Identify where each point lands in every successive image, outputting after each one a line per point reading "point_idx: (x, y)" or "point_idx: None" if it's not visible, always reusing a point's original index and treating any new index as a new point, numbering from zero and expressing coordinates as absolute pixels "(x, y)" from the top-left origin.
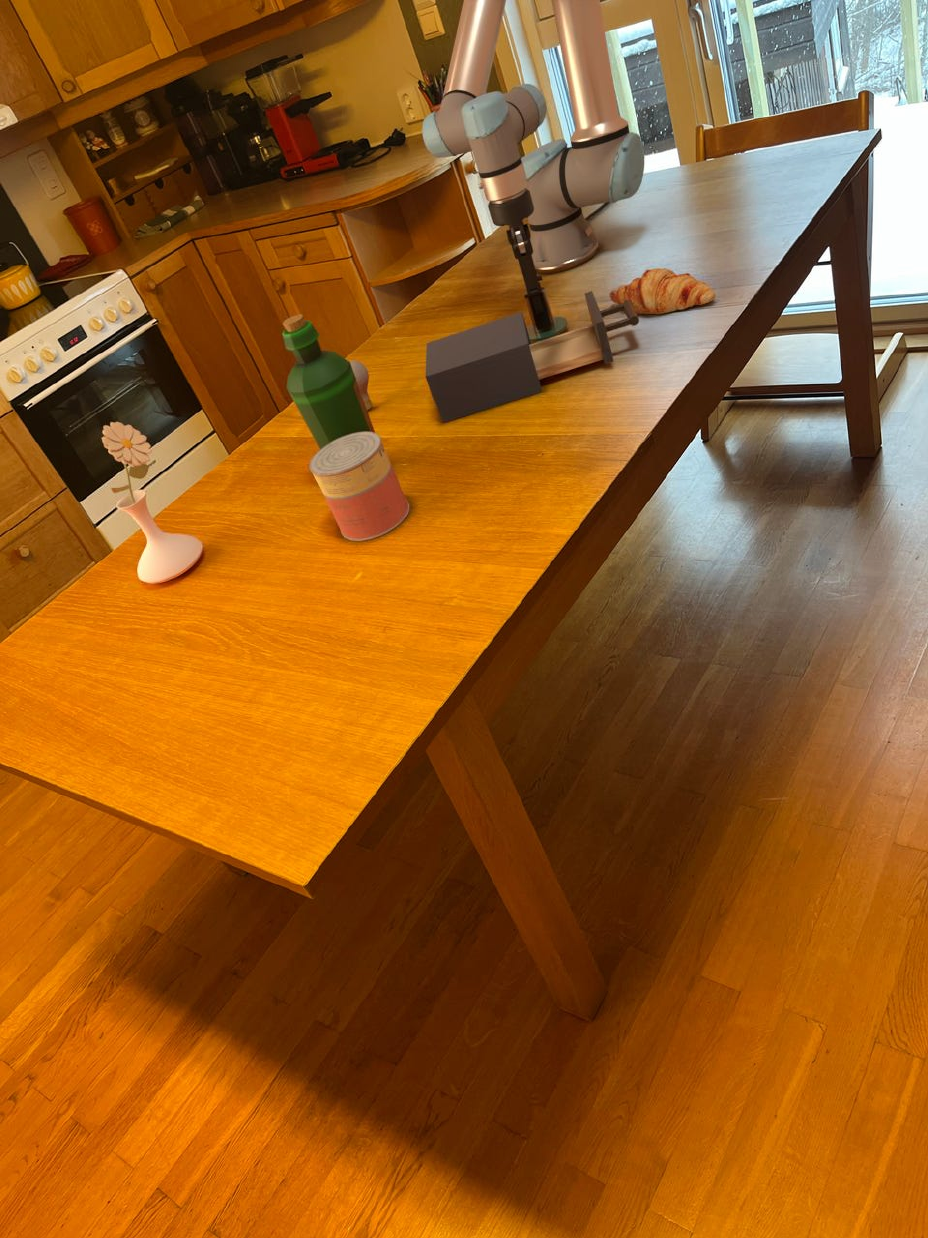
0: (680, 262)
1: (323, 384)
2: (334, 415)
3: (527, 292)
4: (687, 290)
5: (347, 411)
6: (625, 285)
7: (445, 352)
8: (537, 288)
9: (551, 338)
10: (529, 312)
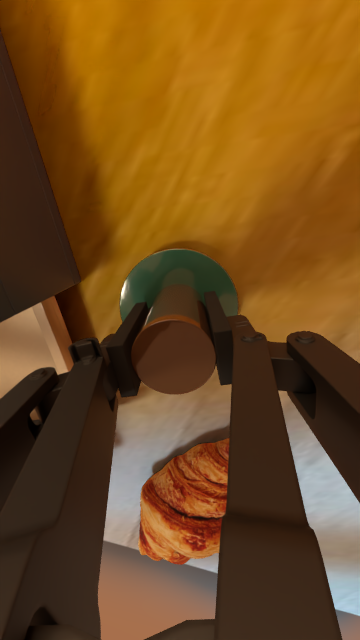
0: (347, 509)
1: None
2: None
3: (17, 384)
4: (144, 543)
5: None
6: None
7: None
8: (40, 422)
9: (50, 346)
10: (157, 303)
